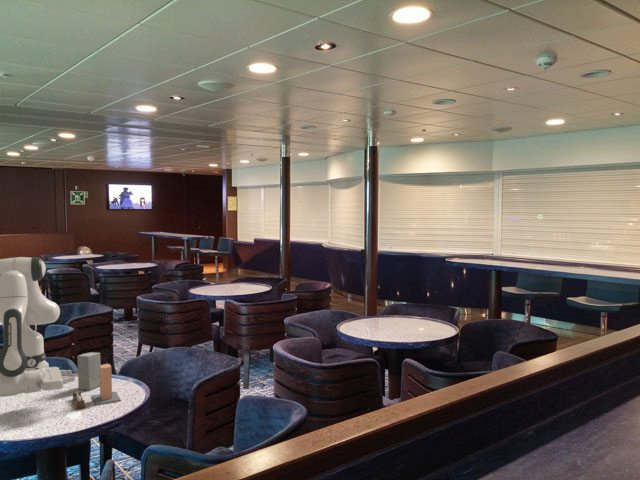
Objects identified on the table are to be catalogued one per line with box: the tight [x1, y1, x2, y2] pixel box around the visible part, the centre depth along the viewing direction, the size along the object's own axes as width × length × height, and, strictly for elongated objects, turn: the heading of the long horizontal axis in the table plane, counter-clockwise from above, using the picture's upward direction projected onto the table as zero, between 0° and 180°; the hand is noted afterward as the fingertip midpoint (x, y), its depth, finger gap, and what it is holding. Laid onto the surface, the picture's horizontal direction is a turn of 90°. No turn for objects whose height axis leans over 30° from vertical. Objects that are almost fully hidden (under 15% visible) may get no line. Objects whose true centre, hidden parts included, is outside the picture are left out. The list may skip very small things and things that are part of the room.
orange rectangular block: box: [99, 363, 113, 400], centre depth 226 cm, size 5×4×14 cm
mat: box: [91, 391, 121, 406], centre depth 227 cm, size 12×10×1 cm
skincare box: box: [76, 351, 102, 391], centre depth 241 cm, size 8×7×16 cm
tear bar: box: [72, 390, 86, 410], centre depth 221 cm, size 14×3×3 cm, turn 31°
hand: (73, 375), depth 220 cm, fingers open, 8 cm apart
